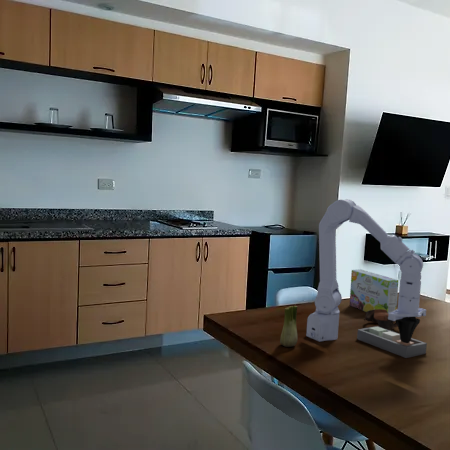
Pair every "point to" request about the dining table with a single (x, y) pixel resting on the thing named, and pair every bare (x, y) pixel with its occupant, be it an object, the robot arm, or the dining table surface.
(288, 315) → the fennel bulb
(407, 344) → the key
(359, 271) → the snack box
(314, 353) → the dining table surface
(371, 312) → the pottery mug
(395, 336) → the key mid
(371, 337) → the grey rectangular tray
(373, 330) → the key
